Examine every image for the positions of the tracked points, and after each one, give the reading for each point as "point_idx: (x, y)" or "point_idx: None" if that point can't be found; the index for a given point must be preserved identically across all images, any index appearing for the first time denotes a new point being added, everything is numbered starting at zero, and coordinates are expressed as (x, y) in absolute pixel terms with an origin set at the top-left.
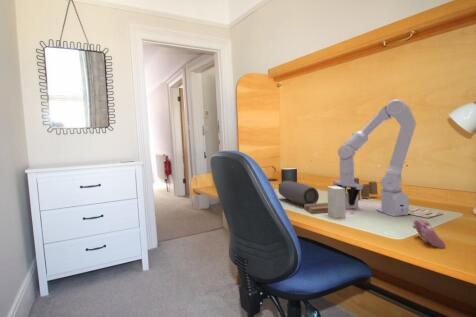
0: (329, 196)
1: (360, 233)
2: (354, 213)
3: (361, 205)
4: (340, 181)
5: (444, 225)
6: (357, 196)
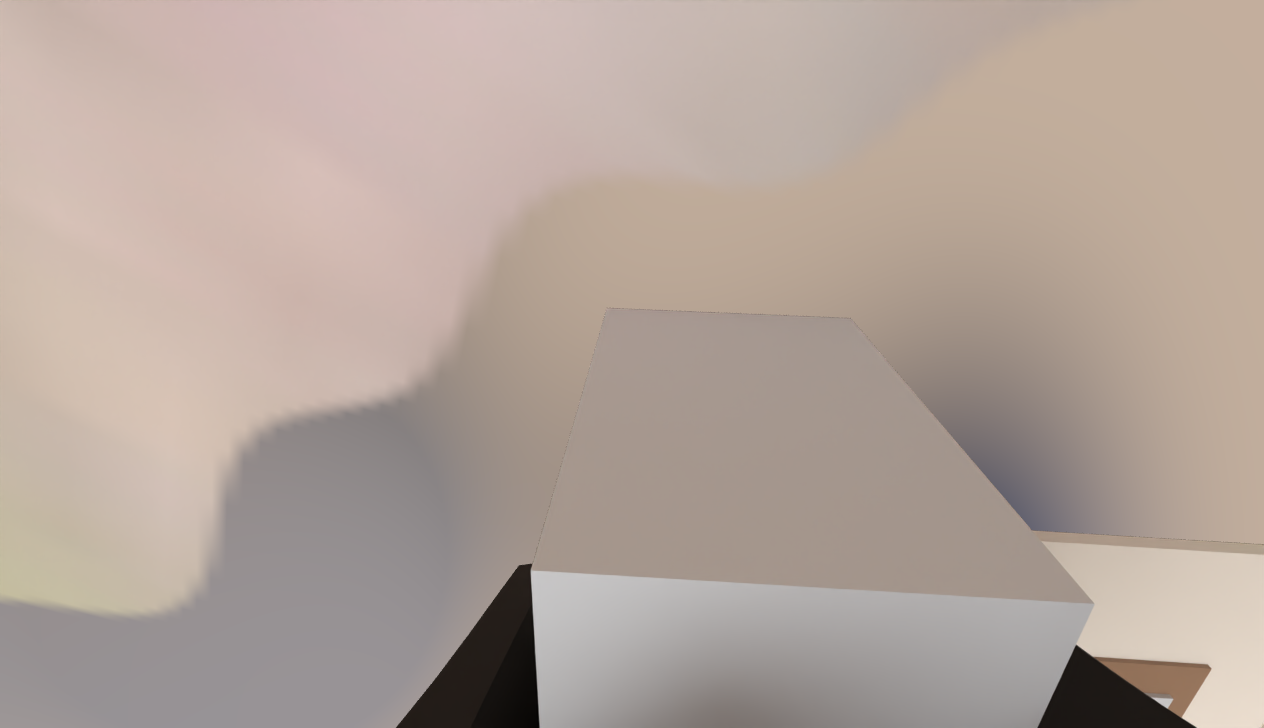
0: None
1: None
2: (1196, 666)
3: (632, 32)
4: None
5: None
6: (1022, 560)
